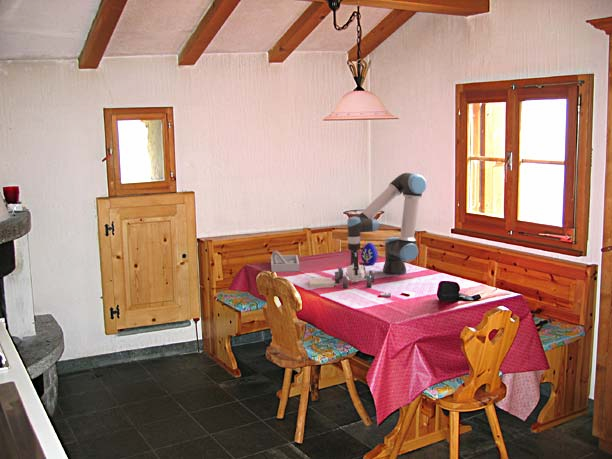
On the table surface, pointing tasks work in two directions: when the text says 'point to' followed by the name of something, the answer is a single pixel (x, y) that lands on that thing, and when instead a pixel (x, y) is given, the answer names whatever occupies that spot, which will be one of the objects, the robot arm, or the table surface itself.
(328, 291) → the table surface
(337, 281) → the standoff posts
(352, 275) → the mechanical part
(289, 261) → the faucet
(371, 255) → the ornament
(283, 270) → the storage bin
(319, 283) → the parts stand
